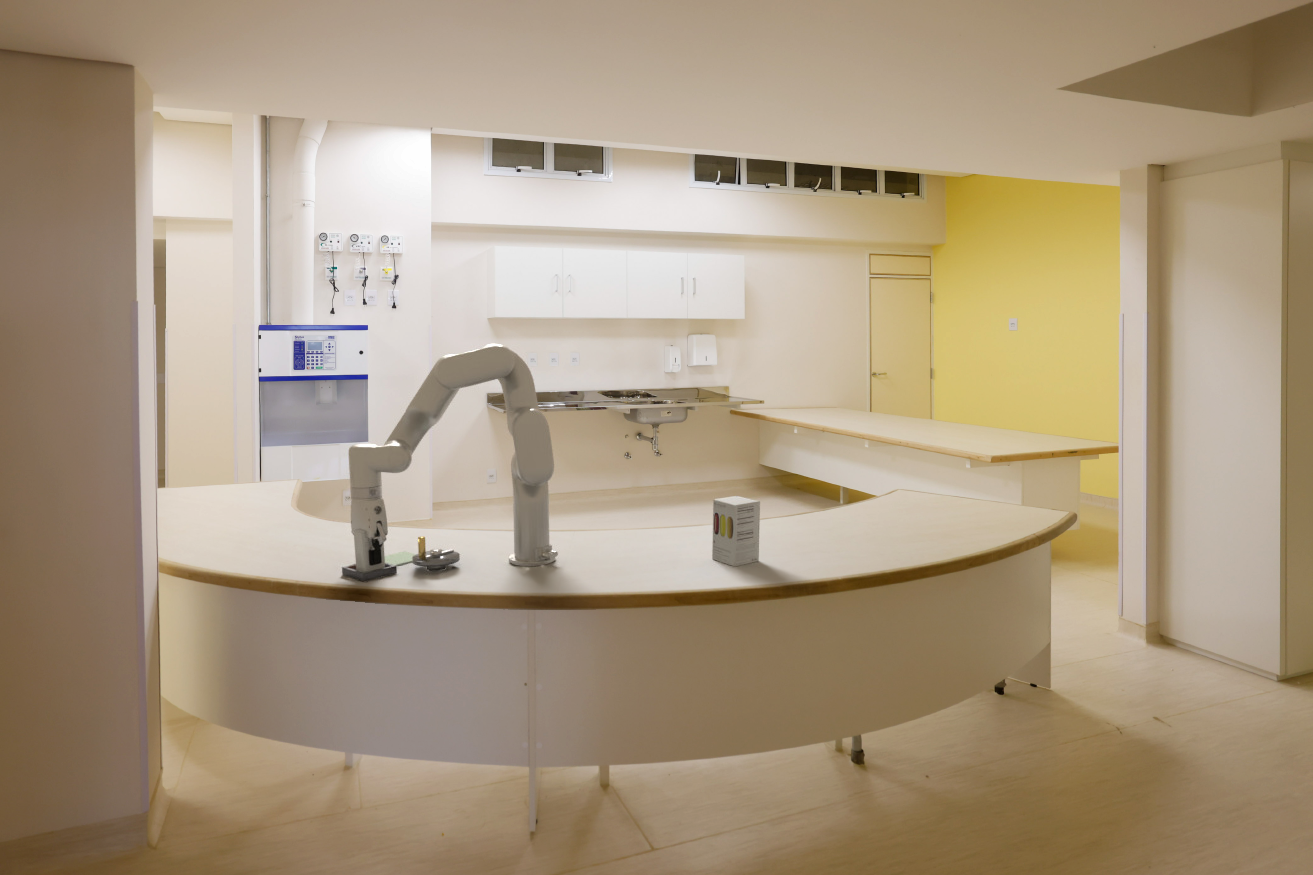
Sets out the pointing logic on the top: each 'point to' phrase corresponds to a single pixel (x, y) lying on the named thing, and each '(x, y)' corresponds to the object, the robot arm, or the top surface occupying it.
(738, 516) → the supplement box
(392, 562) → the mat
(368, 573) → the dark grey square tray
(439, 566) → the wheel post
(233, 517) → the top surface
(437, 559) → the handwheel
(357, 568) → the skincare box
